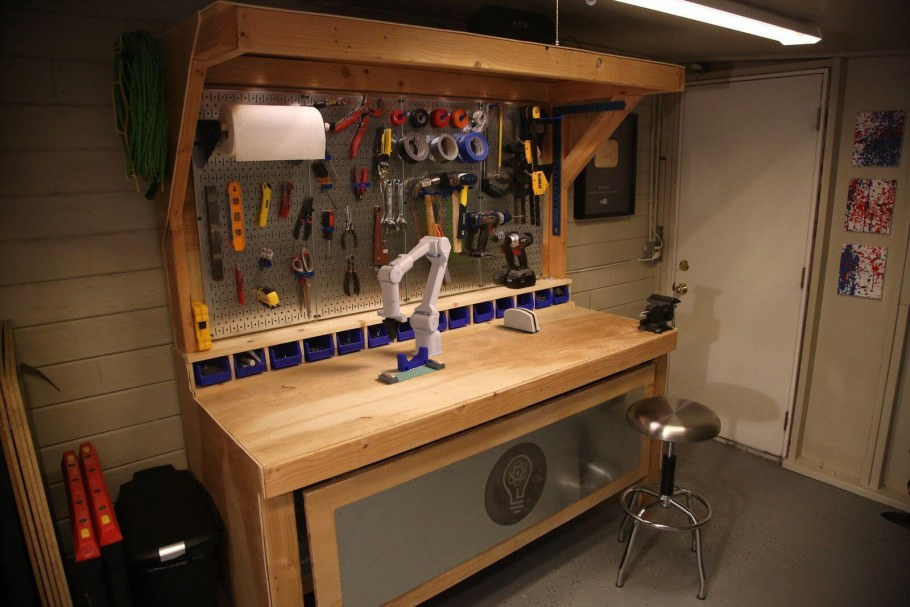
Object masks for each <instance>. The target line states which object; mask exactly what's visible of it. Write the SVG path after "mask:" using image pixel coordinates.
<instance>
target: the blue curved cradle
mask: <svg viewBox="0 0 910 607" xmlns="http://www.w3.org/2000/svg"><path fill="white" fill-rule="evenodd" d="M396 357H397V358H396V360H397V371H398V372H401V373H402V372H405V371H409V370H410V369H411V370H412V369H413V368H414V369H415V368H419V367H422V366H426V363H425V362H426V361H428V360H429V357H428V348H427V347H423V346H421V347H419V352H418V354H417V355H412V358H411V359H410V360H408V357H407V354H406V353H401V352H400V353H397V354H396Z"/></svg>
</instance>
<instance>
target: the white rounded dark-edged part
mask: <svg viewBox="0 0 910 607" xmlns="http://www.w3.org/2000/svg"><path fill="white" fill-rule="evenodd" d="M503 326H504V327H507V328H511V329H516V330H521V331H527V332H529V333H530V332H532V333H535V332H537V333H540V332H541V328H540V327H539V324H538V319H537V314H536V313H535V312H534V311H532V310H530V309H528V308H524V307H511V308H508V309H506V310H504V312H503Z"/></svg>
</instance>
